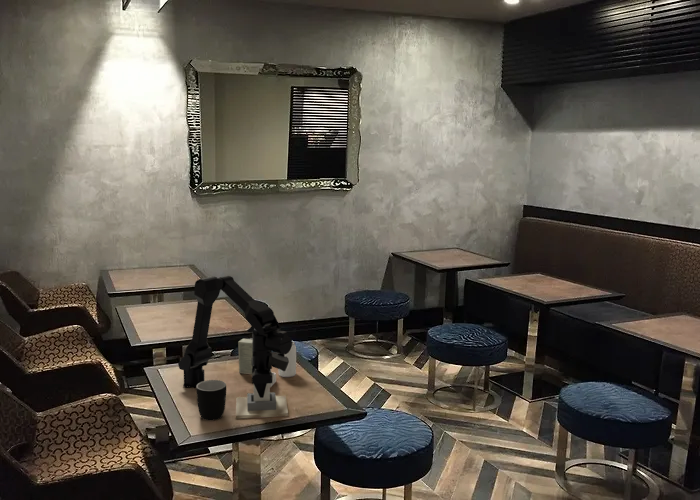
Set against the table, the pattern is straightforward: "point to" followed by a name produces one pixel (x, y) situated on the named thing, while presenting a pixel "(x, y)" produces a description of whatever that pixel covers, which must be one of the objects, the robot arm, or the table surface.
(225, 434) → the table surface
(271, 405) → the back box
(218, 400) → the mug
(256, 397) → the grey block
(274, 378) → the white angled block
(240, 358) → the skincare box
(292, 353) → the can
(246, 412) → the board
